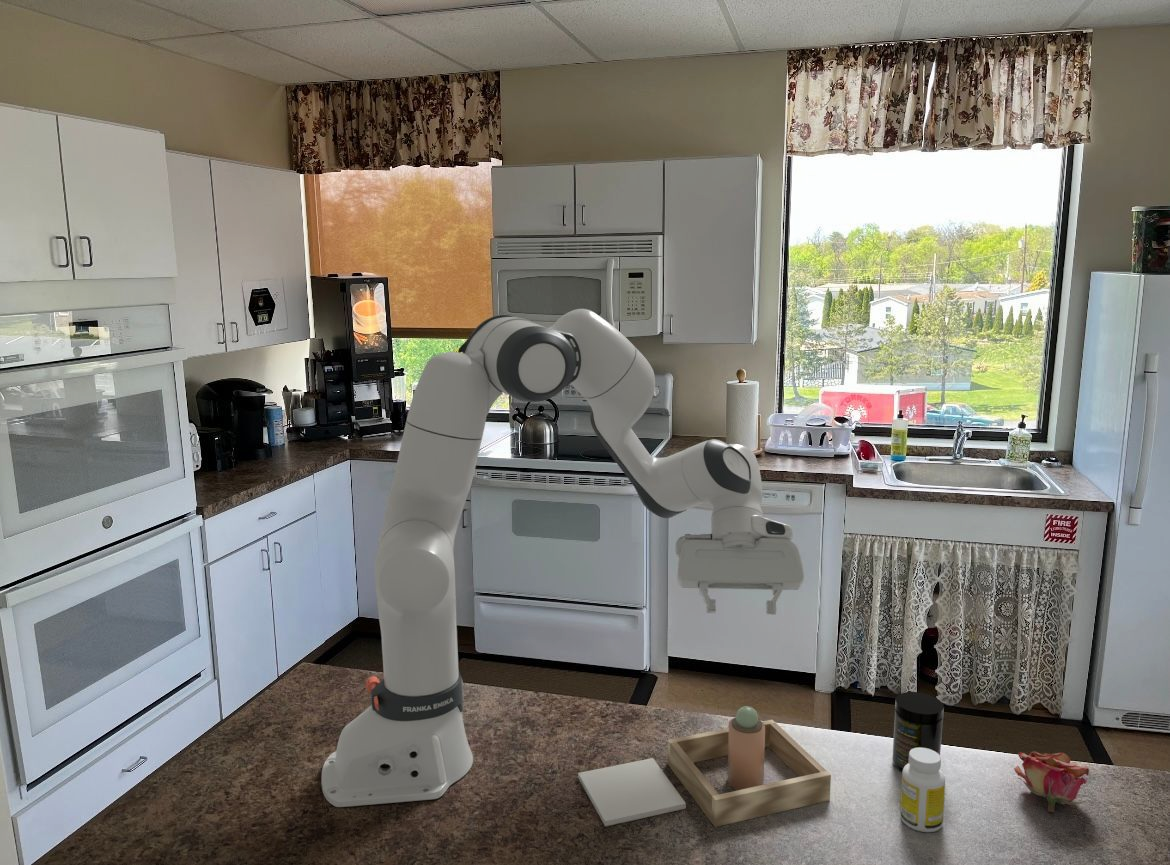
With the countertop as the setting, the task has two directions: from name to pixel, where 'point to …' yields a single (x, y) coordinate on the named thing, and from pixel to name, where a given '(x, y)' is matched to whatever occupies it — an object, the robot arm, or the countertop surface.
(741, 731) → the peach bottle
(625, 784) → the paving tile
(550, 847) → the countertop surface
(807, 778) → the brown wooden rectangular frame
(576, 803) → the countertop surface
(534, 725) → the countertop surface
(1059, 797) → the flower
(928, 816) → the supplement bottle
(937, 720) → the supplement container
